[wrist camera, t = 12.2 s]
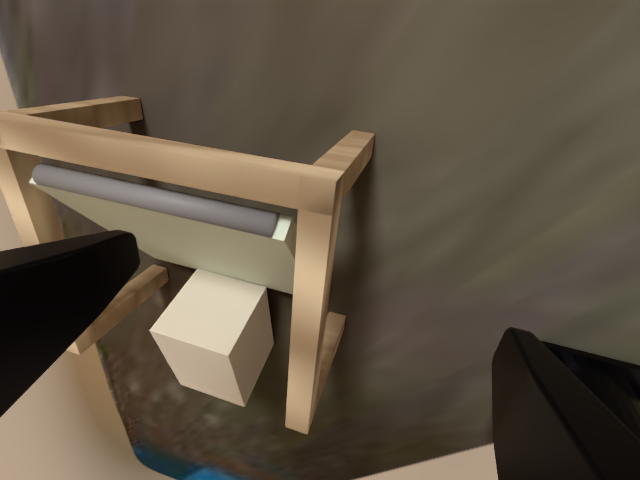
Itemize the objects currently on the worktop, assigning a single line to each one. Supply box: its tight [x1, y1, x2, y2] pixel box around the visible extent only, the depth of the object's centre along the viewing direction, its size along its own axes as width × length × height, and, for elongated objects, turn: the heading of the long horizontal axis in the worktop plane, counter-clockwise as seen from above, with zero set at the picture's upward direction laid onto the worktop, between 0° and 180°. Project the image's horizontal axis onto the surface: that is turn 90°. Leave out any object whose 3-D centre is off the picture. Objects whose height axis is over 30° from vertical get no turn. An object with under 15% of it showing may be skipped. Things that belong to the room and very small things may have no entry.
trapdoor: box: [29, 163, 297, 294], centre depth 18 cm, size 10×12×1 cm
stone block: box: [149, 268, 274, 407], centre depth 23 cm, size 5×5×7 cm
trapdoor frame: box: [0, 96, 375, 435], centre depth 19 cm, size 13×15×8 cm
